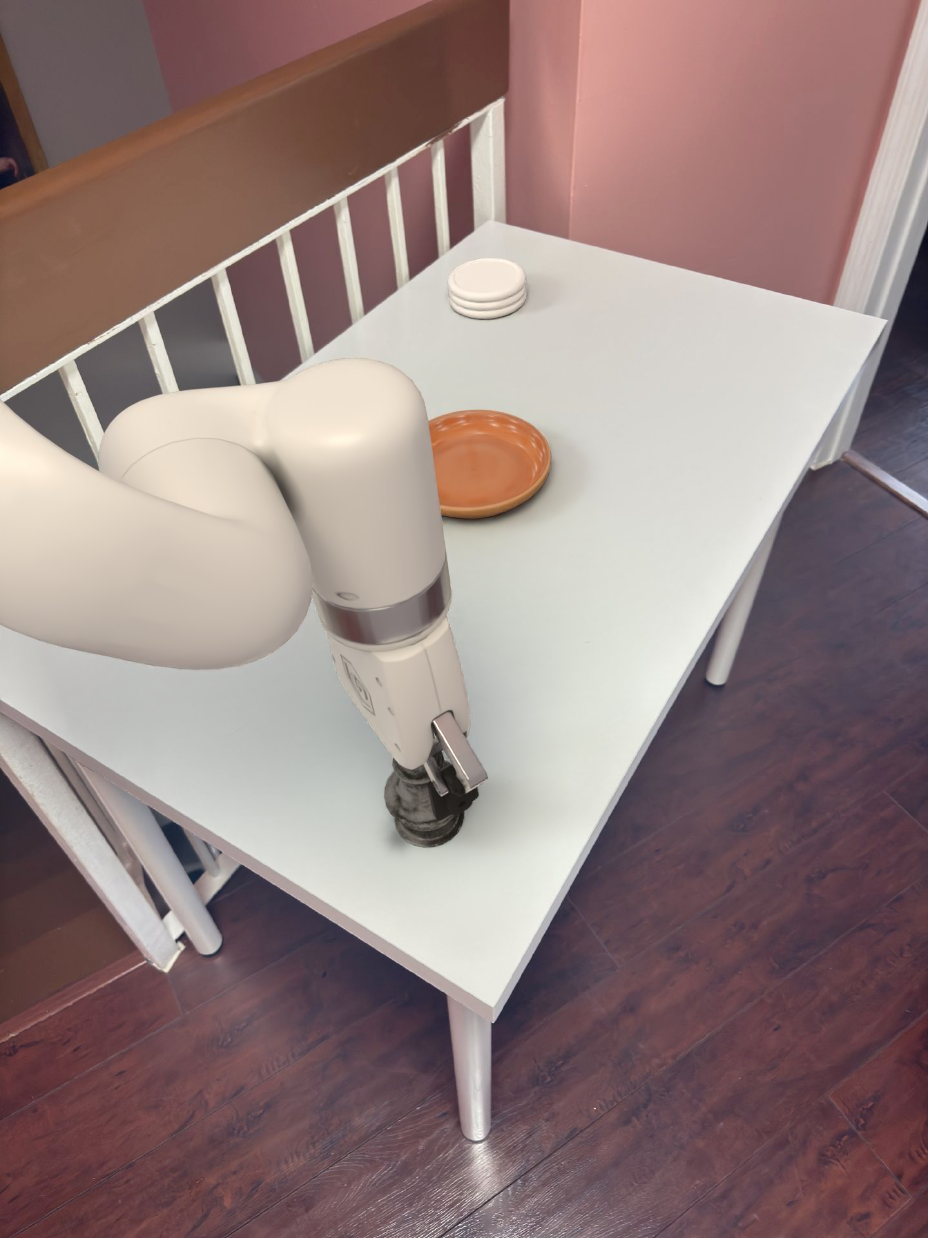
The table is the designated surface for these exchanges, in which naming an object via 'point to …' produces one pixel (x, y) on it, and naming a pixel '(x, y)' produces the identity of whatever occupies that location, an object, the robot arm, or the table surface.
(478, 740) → the table surface
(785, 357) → the table surface
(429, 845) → the salt shaker
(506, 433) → the saucer
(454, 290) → the coaster
